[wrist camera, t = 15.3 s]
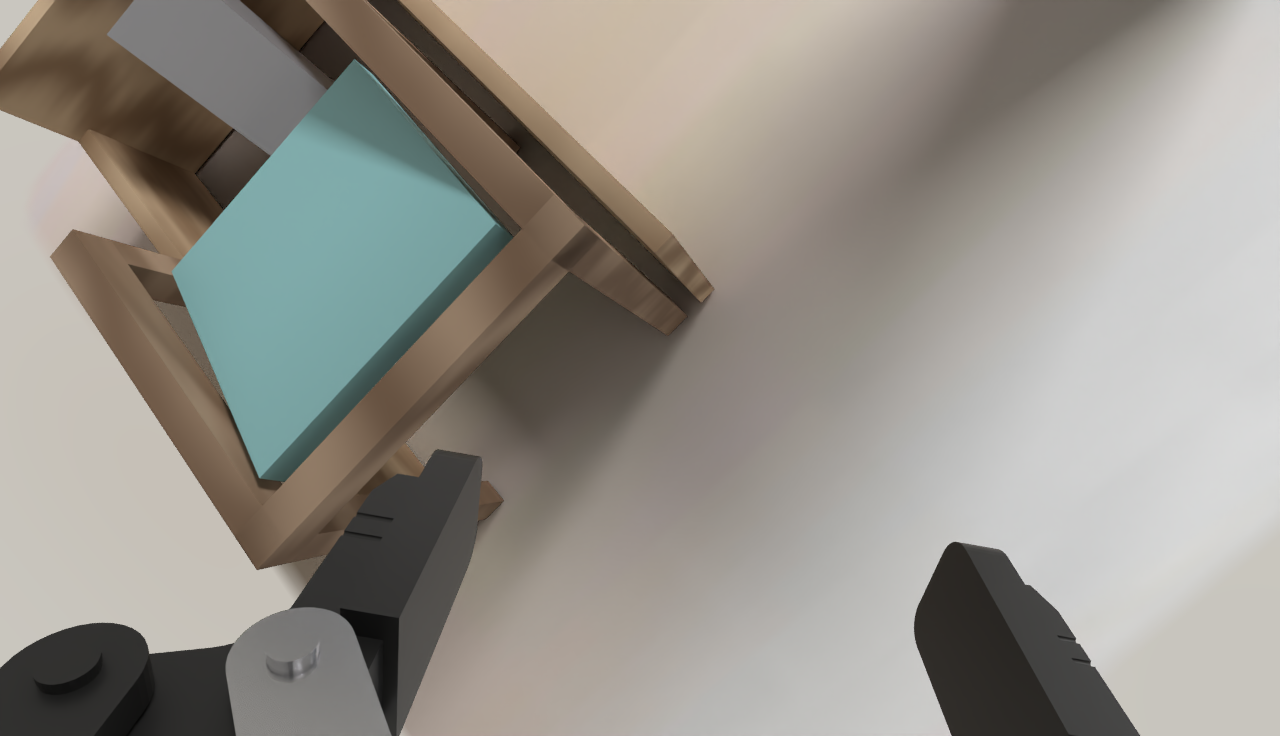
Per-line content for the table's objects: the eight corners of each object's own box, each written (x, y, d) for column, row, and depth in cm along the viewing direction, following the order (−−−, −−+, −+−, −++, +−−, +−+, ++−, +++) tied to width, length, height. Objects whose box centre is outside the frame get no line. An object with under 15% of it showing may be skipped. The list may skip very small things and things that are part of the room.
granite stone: (169, -44, 33) (363, 120, 40) (184, -48, 37) (359, 103, 44) (106, 34, 34) (308, 183, 40) (127, 23, 38) (308, 160, 44)
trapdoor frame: (367, -50, 45) (127, -305, 30) (714, 289, 36) (629, 177, 21) (178, 175, 47) (-135, 46, 32) (461, 542, 39) (219, 609, 23)
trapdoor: (373, 74, 29) (354, 58, 28) (513, 237, 23) (495, 223, 22) (194, 280, 30) (171, 271, 29) (284, 481, 24) (259, 478, 23)
